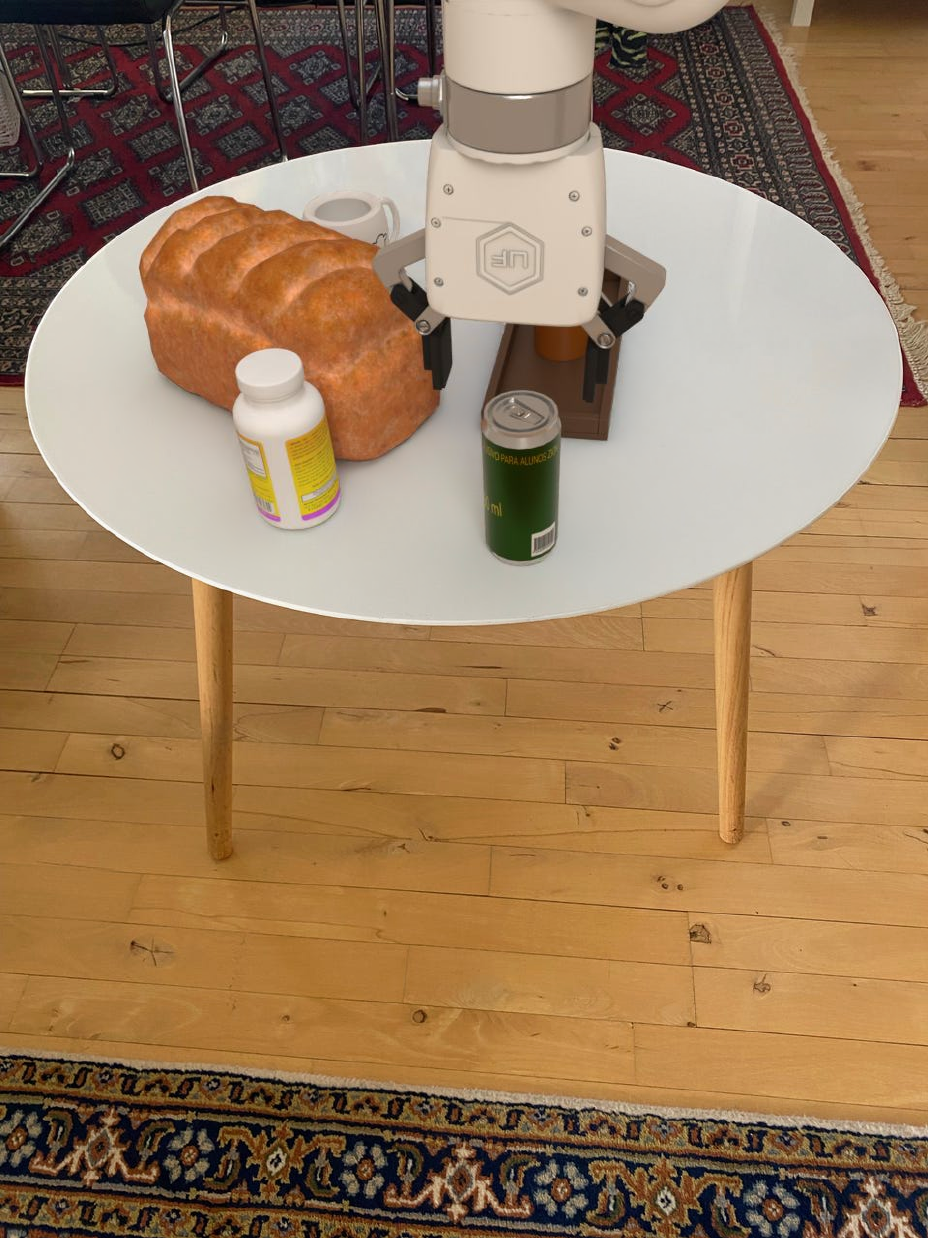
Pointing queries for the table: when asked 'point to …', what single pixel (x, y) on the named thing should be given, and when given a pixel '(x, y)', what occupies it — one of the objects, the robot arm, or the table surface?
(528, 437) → the beer can
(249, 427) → the supplement bottle
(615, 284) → the tray
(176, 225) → the bread
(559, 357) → the amber bottle
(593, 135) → the robot arm
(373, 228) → the mug
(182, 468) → the table surface
